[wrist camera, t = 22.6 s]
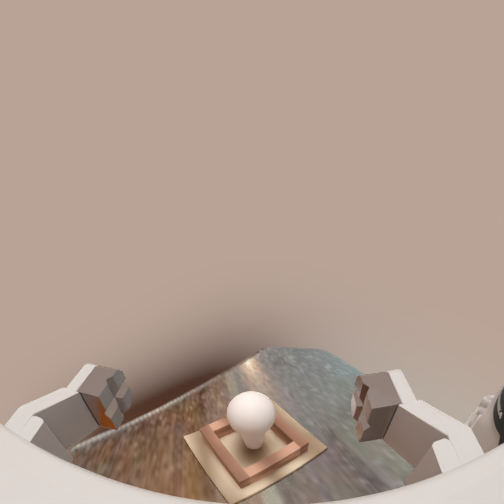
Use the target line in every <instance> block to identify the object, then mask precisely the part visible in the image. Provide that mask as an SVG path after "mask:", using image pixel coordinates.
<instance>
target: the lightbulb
mask: <svg viewBox="0 0 504 504" xmlns="http://www.w3.org/2000/svg"><path fill="white" fill-rule="evenodd" d="M275 418H276V410H275V407H274V405H273V403H272V401H271V400H270V399H269V398H268V397H267V396H265V395H264V394H262V393H259V392H254V391H248V392H243V393H241V394H239V395H237V396H236V397H234V398H233V399H232V400H231V402H230V403H229V405H228V408H227V420H228V423H229V424H230V426H231V427H232V429H234V430H235V431H236V432H237V433H239V434H241V436H242V439H243V440H244V442H245V445H246V447H247V448H249V449H258V448H260V447H261V446H262V444H263V439H264V436H265V432H267V431H268V430H269V429H270V428H271V427H272V425H273V423H274V421H275Z"/></svg>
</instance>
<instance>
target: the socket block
mask: <svg viewBox="0 0 504 504" xmlns="http://www.w3.org/2000/svg"><path fill="white" fill-rule="evenodd" d="M269 399H270V400H271V401H272V403H273V405H274V407H275V410H276V418H275V421H274V423H273V425H272V427H271V428H270V429H269V430H268V431H267V432H265V436H264V439H263V444H262V446H261V447H260V448H258V449H249V448H247V447H246V445H245V442H244V440H243V439H242V436H241V434H239V433H237V432H236V431H235V430H234V429H232V427H231V426H230V424H229V423H228V420H227V417H225V418H223V419H221V420H218V421H216V422H214V423H211V424H209V425H206V426H204V427H201V428H199V429H200V430H199V431H197V432H194V433H192V434H189V435H187V436H184V439H185V441H186V442H187V444H188V446H189V447H190V449H191V450H192V452H193V454H194V455H195V457H196V458H197V460H198V461H199V463H200V464H201V466H202V467H203V469H204V470H205V472H206V473H207V475H208V476H209V477H210V479H211V480H212V482H213V483H214V484H215V486H216V487H217V489H218V490H219V491H220V493H221V494H222V495H223V497H224V498H225V499H226V501H227V502H228V503H229V504H236V503H238V502H241V501H243V500H245V499H247V498H249V497H251V496H253V495H255V494H256V493H258V492H260V491H262V490H264V489H266V488H268V487H269V486H271V485H273V484H275V483H276V482H278V481H280V480H281V479H283V478H285V477H286V476H288V475H290V474H291V473H293V472H294V471H296V470H298V469H299V468H301V467H302V466H304V465H305V464H307V463H308V462H310V461H311V460H313V459H314V458H315V457H317V456H318V455H320V454H321V453H323V452H324V451H325V450H327V446H325V445H324V444H323V443H322V442H320V441H319V440H318V439H317V438H315V437H314V436H313V435H312V434H311V433H309V432H308V431H307V430H306V429H305V428H303V427H302V426H301V425H300V424H299V423H298V422H296V421H295V420H294V419H293V418H292V417H291V416H290V415H288V414H287V413H286V412H285V411H284V410H283V409H282V408H281V407H279V406H278V405H277V404H276V403H275V402H274V401H273V400H272V399H271V398H269Z"/></svg>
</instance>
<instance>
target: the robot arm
mask: <svg viewBox="0 0 504 504" xmlns="http://www.w3.org/2000/svg"><path fill="white" fill-rule="evenodd" d="M124 380H125V376H124V374H123V372H122V371H120V370H117V369H112V368H107V367H103V366H97V365H93V364H86V365H84V367H83V368H82V369H81V371H80V372H79V373H78V374H77V375H76V377H75V378H74V379H73V380H72V382H71V383H70V384H69V385H68V387H67V388H61V389H59V390H57V391H54V392H52V393H50V394H48V395H46V396H43V397H41V398H39V399H37V400H34V401H32V402H30V403H27V404H25V405H23V406H21V407H19V408H18V410H17V411H16V412H15V413H14V415H13V416H12V417H11V418H10V419H9V421H8V422H7V423H6V424H5V426H4V425H2V424H1V423H0V504H226V503H216V502H207V501H200V500H193V499H187V498H181V497H176V496H171V495H166V494H162V493H158V492H153V491H149V490H145V489H142V488H138V487H135V486H131V485H128V484H125V483H121V482H118V481H115V480H112V479H109V478H107V477H104V476H101V475H98V474H96V473H93V472H91V471H88V470H86V469H83V468H81V467H79V466H76V465H74V464H72V462H73V457H72V456H71V455H70V454H69V453H68V451H67V450H66V449H68V448H69V447H71V446H72V445H73V444H75V443H76V442H78V441H79V440H81V439H82V438H83V437H85V436H86V435H88V434H89V433H91V432H92V431H94V430H95V429H96V428H98V427H99V426H103V427H106V428H110V429H114V430H118V428H119V426H120V424H121V422H122V421H123V418H124V417H123V412H125V411H127V410H128V409H129V407H130V405H131V399H132V394H131V390H130V388H129V386H128V385H127V384H126V383H125V382H124ZM355 385H356V388H357V390H356V391H355V392H353V395H352V399H351V410H352V415H353V418H354V419H355V420H357V421H358V422H357V425H356V431H357V435H358V439H359V442H365V441H371V440H377V439H383V440H384V441H385V442H386V443H387V444H388V445H389V446H390V447H392V448H393V449H394V450H395V451H396V452H397V453H398V454H399V455H401V456H402V457H403V458H404V459H405V460H406V461H407V462H408V463H410V464H411V465H412V466H413V467H414V468H415V469H414V470H413V471H412V473H411V474H410V475H409V476H408V477H407V479H406V480H405V481H404V482H405V485H406V486H403V487H400V488H396V489H392V490H389V491H385V492H381V493H376V494H372V495H367V496H362V497H357V498H351V499H345V500H339V501H331V502H323V503H313V504H504V385H503V386H502V387H501V388H500V389H499V391H498V392H497V394H496V395H485V397H484V398H483V400H482V401H481V403H480V404H479V406H478V407H477V408H476V409H475V410H474V412H473V413H472V414H471V415H470V416H469V418H468V419H467V420H466V421H465V422H464V423H461V422H459V421H457V420H455V419H454V418H452V417H450V416H448V415H447V414H445V413H443V412H441V411H440V410H438V409H436V408H434V407H433V406H431V405H429V404H427V403H426V402H424V401H422V400H416V398H415V396H414V394H413V392H412V390H411V388H410V386H409V384H408V382H407V380H406V379H405V377H404V375H403V373H402V371H401V370H400V369H397V370H392V371H386V372H380V373H373V374H366V375H359V376H358V377H357V379H356V382H355ZM98 425H99V426H98Z"/></svg>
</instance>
